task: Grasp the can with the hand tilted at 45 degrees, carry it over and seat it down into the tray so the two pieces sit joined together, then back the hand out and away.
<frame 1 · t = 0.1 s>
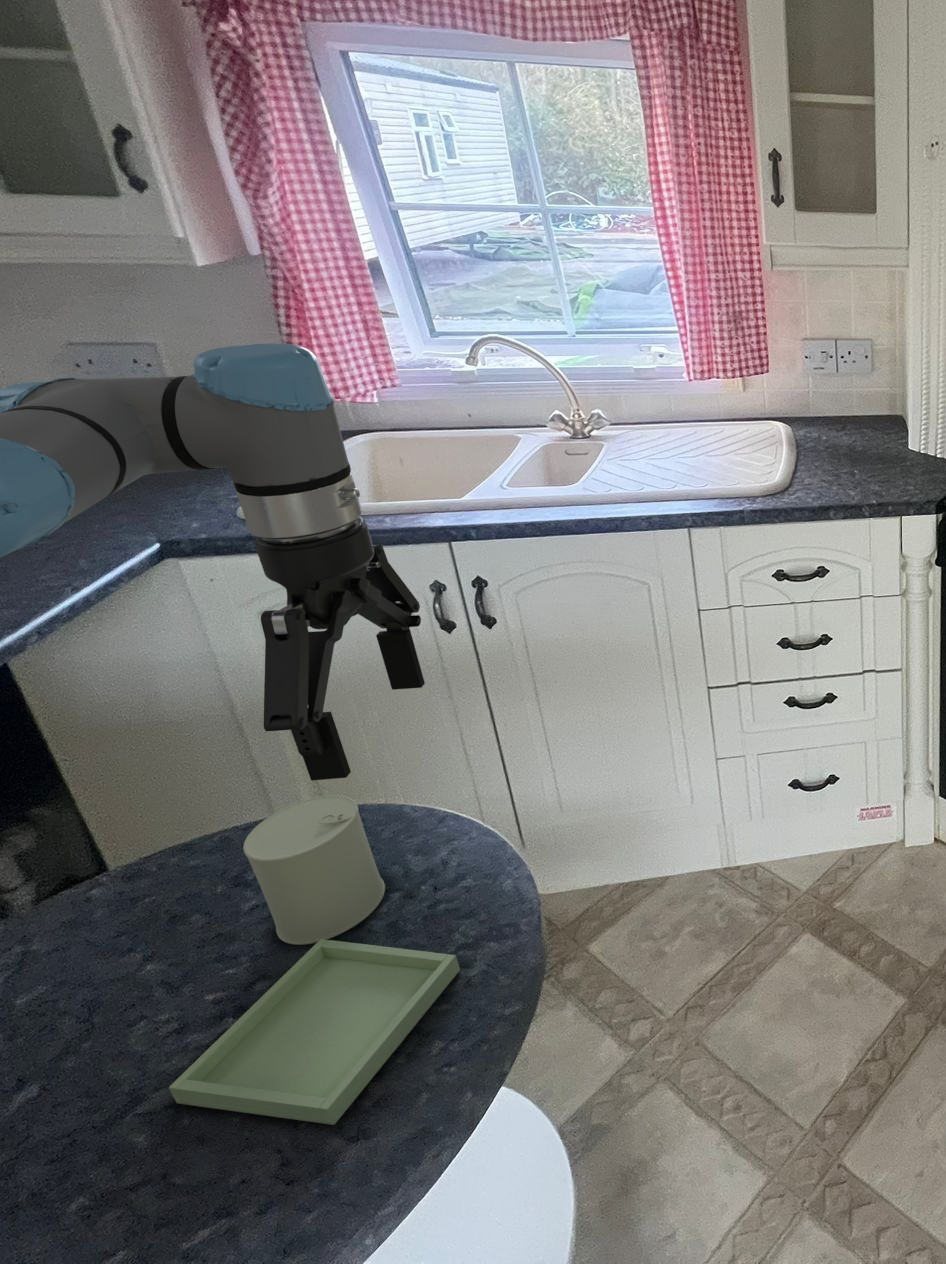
hand: (373, 728, 78), 25 cm above the countertop, tool pointing down, fingers open, 13 cm apart
tray: (330, 1031, 76), on the countertop
can: (333, 909, 89), on the countertop
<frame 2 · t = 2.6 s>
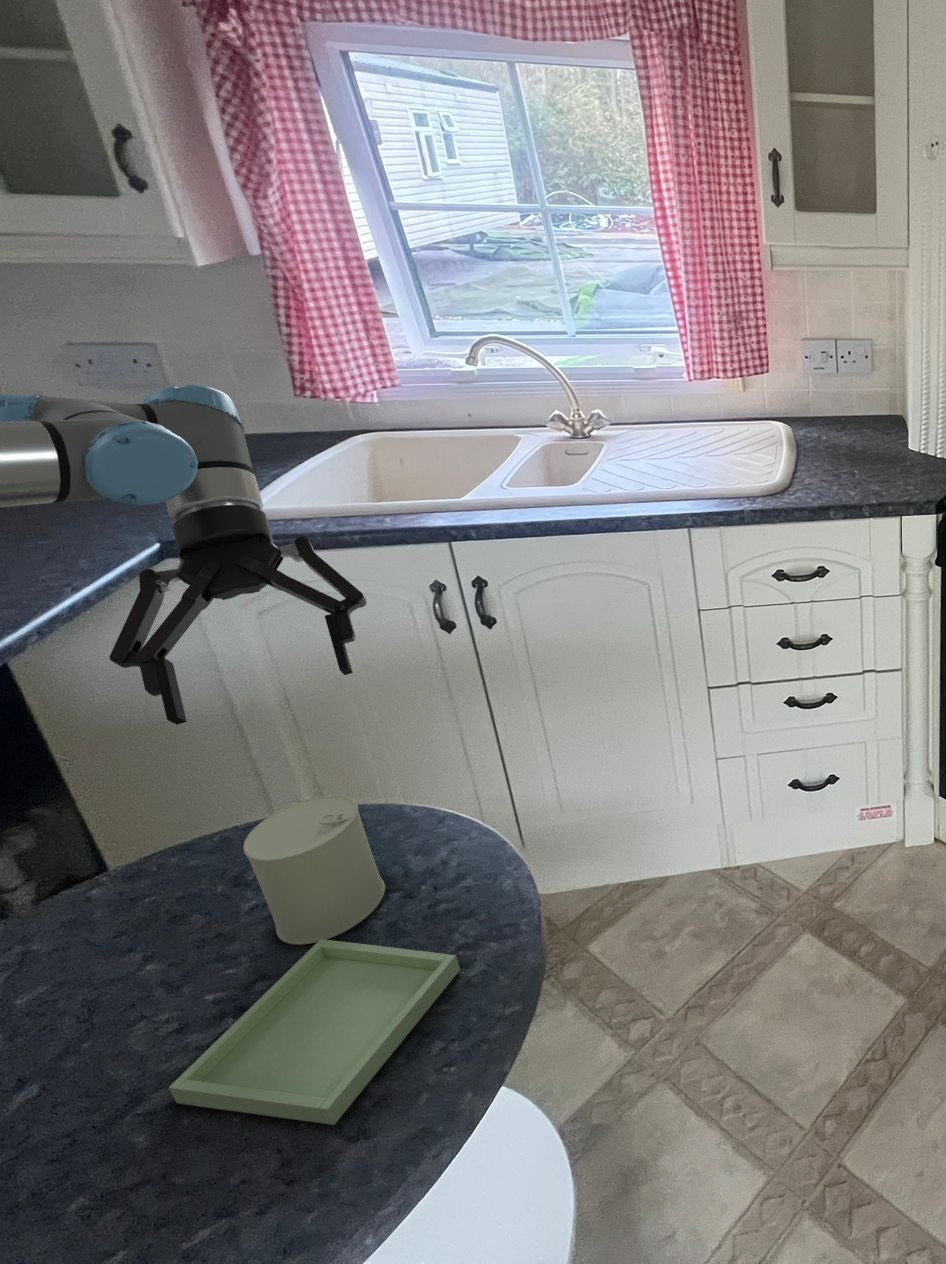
hand: (265, 695, 86), 23 cm above the countertop, tool tilted 45°, fingers open, 13 cm apart
nothing on the countertop moved.
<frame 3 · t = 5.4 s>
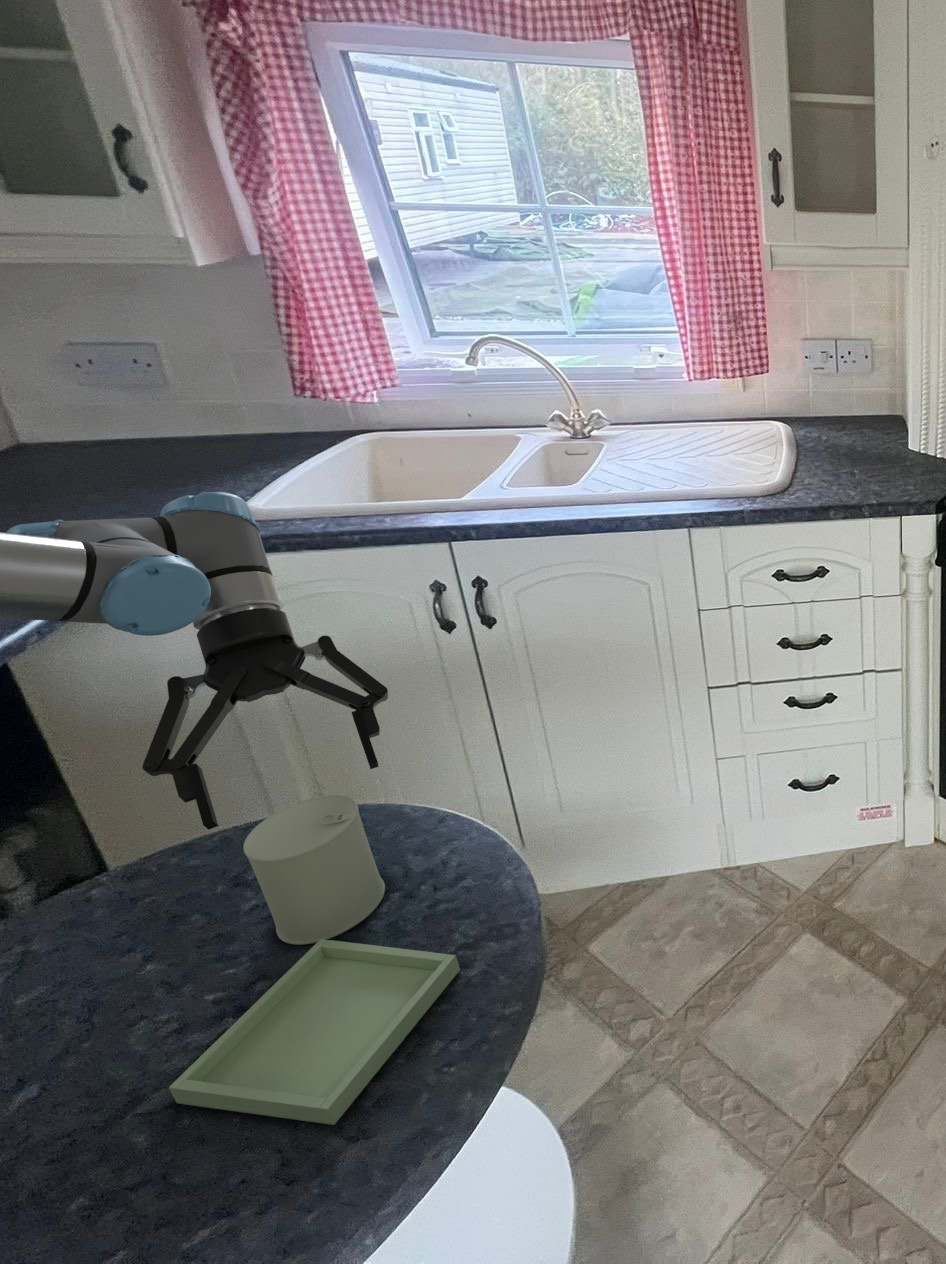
hand: (296, 794, 89), 11 cm above the countertop, tool tilted 45°, fingers open, 13 cm apart
nothing on the countertop moved.
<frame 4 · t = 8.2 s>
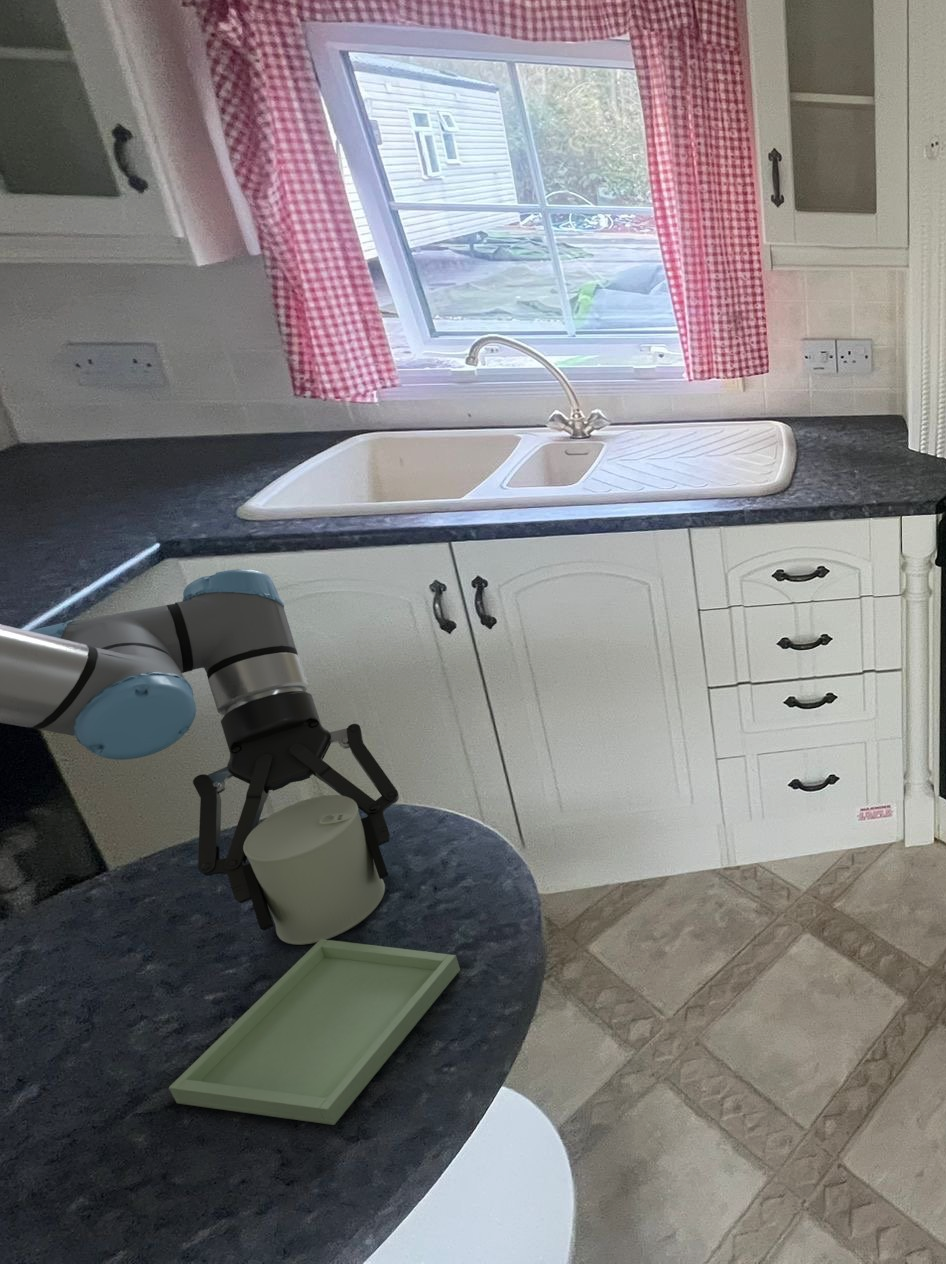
hand: (327, 900, 85), 4 cm above the countertop, tool tilted 45°, fingers closed on can, 9 cm apart
can: (333, 909, 89), on the countertop, touching gripper
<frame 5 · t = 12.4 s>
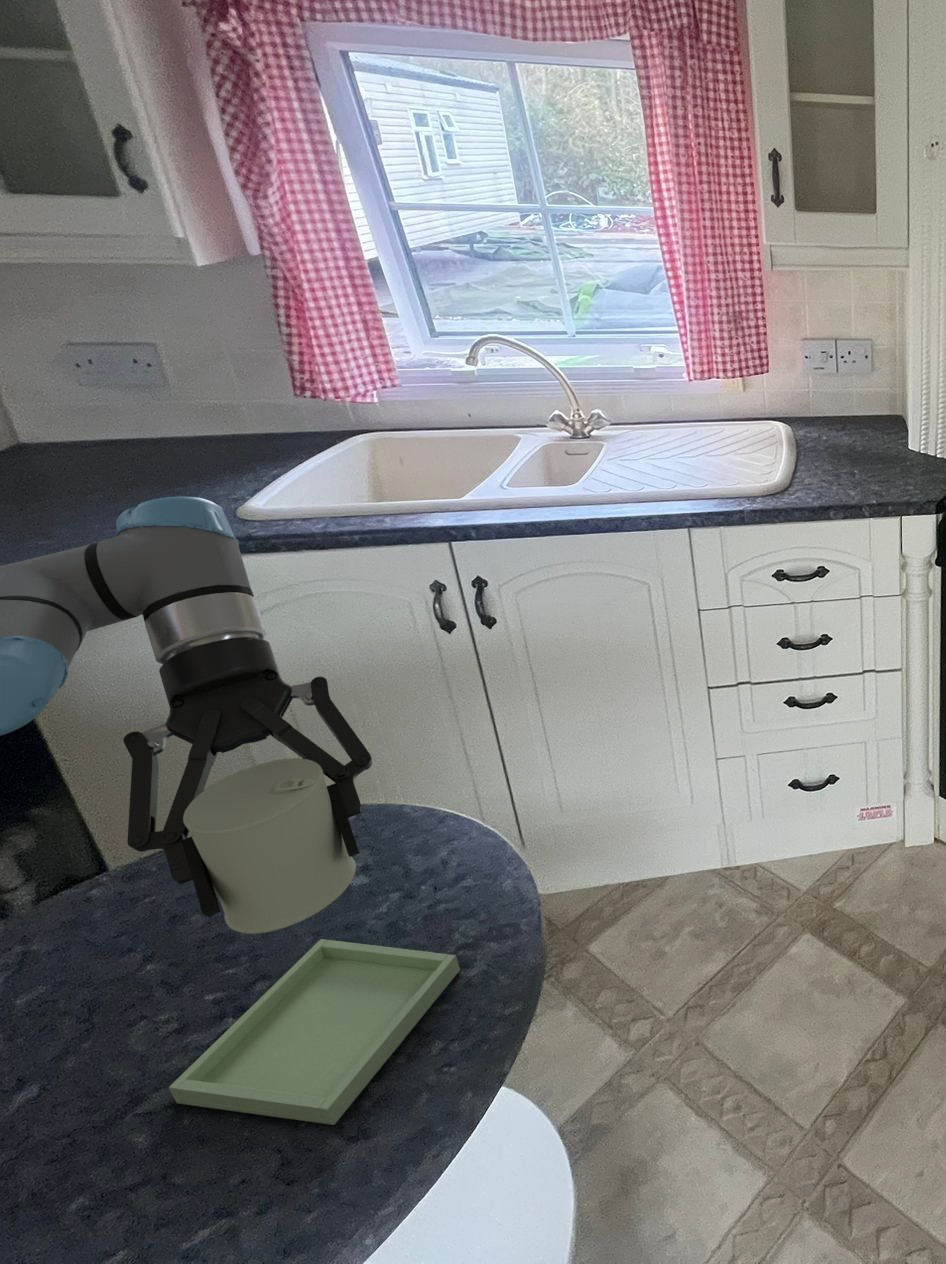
hand: (285, 881, 72), 17 cm above the countertop, tool tilted 45°, fingers closed on can, 9 cm apart
can: (293, 892, 76), point 13 cm above the countertop, touching gripper
when the fingers open (4 cm above the countertop, at t = 16.9 s): can stays where it is, resting on tray.
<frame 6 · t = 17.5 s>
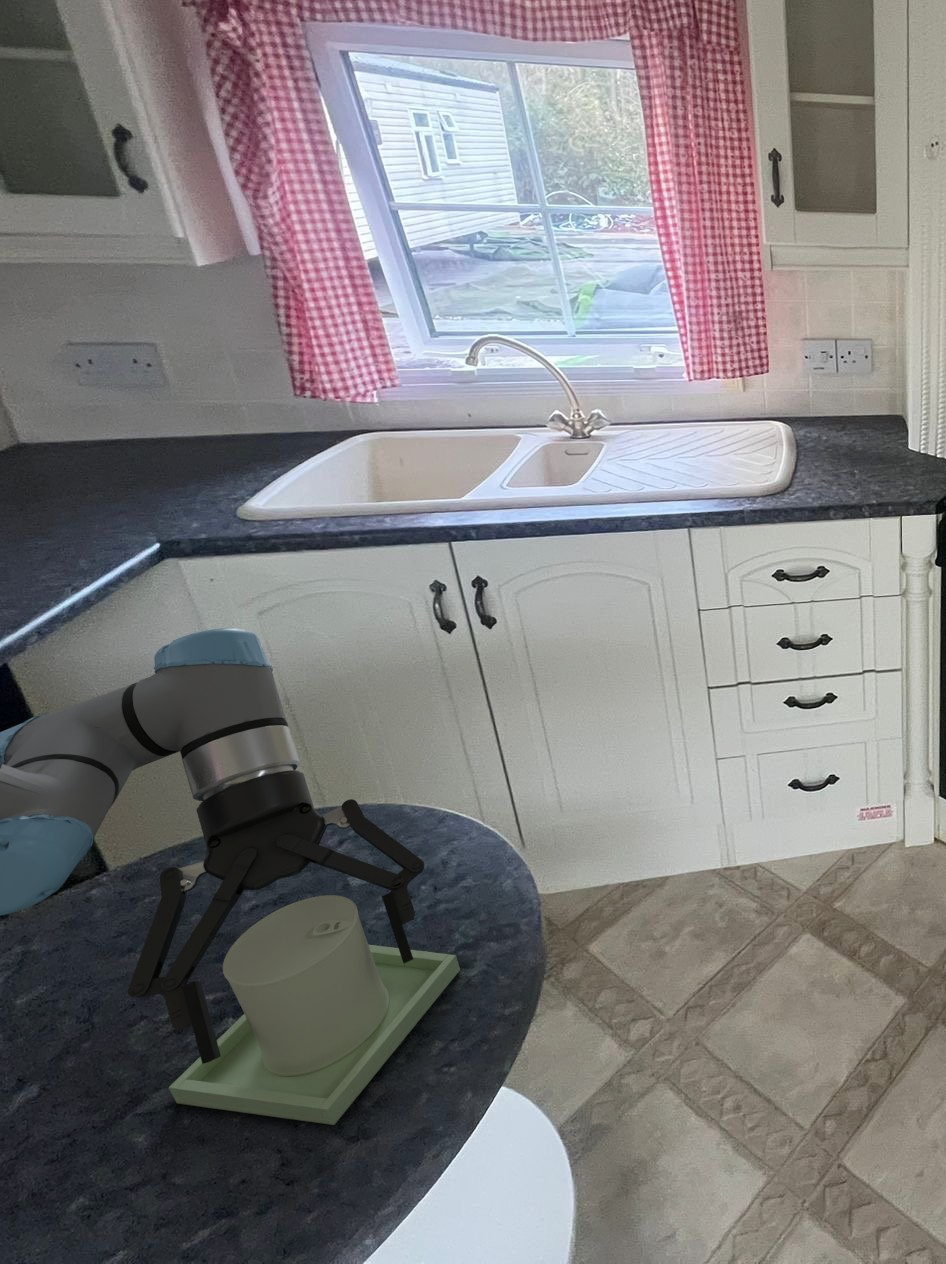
hand: (316, 1008, 73), 6 cm above the countertop, tool tilted 45°, fingers open, 13 cm apart
can: (329, 1027, 76), resting on tray
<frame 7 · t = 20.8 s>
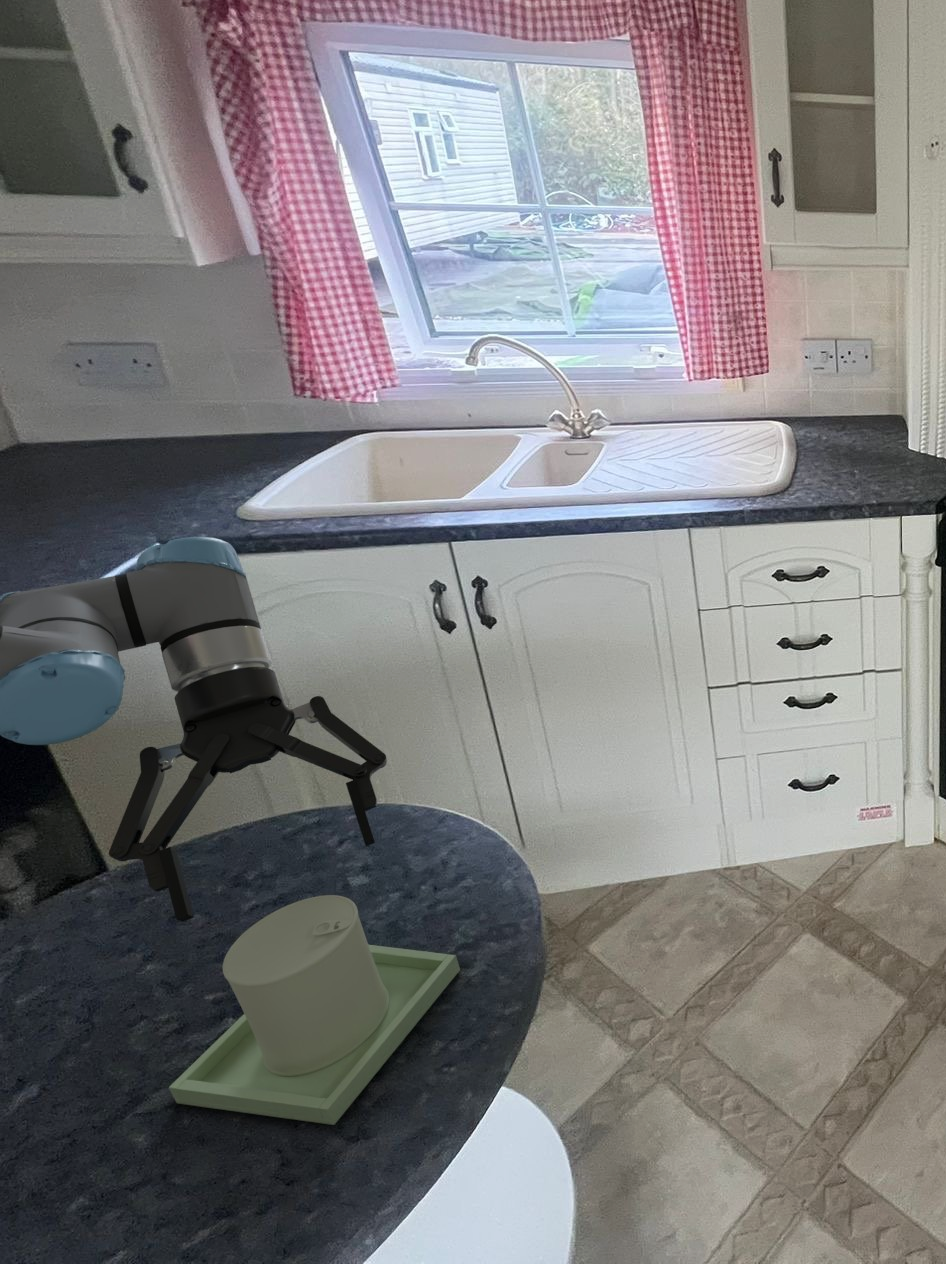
hand: (283, 878, 79), 11 cm above the countertop, tool tilted 45°, fingers open, 13 cm apart
nothing on the countertop moved.
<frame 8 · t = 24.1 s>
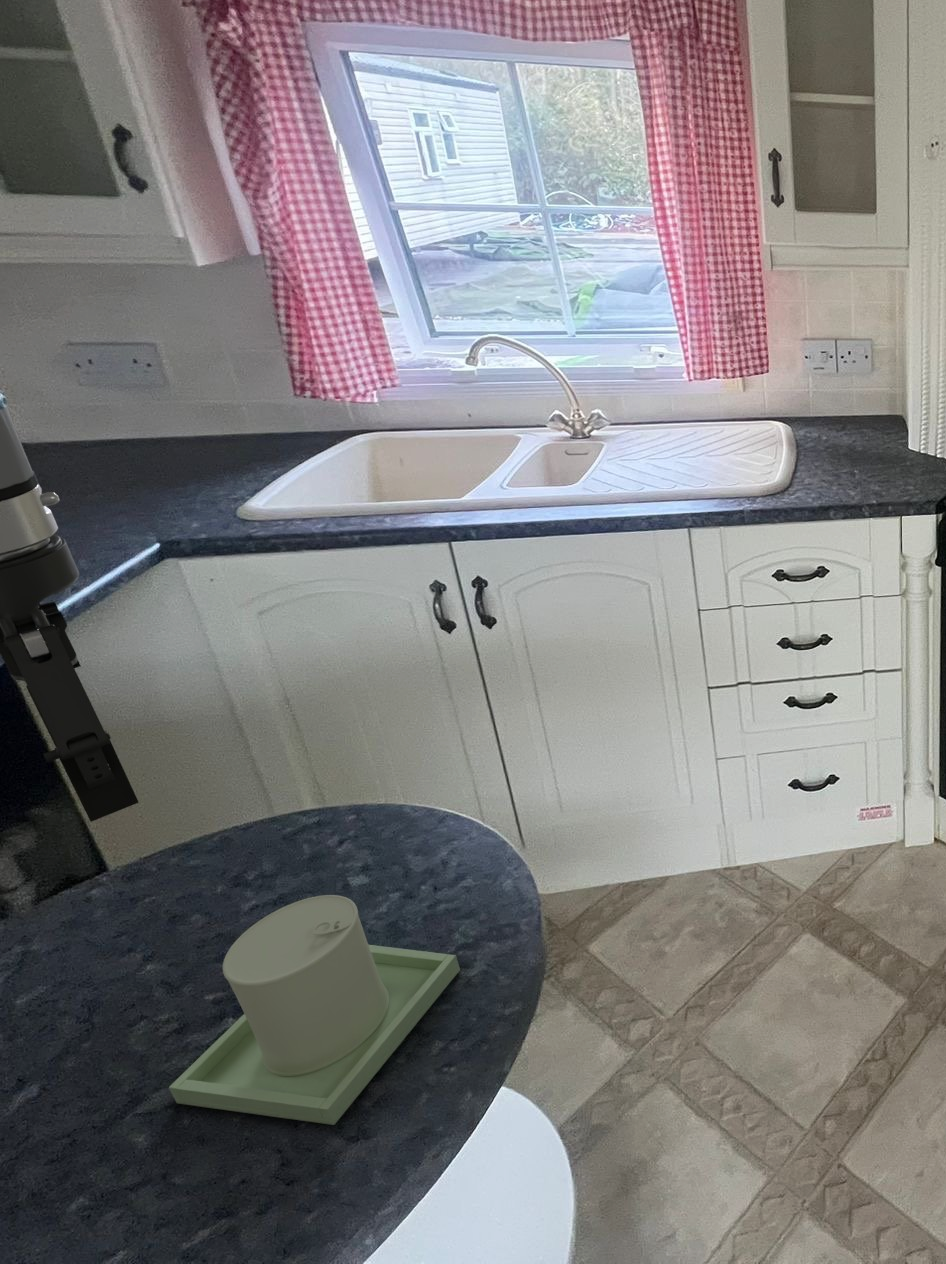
hand: (96, 774, 69), 27 cm above the countertop, tool pointing down, fingers open, 13 cm apart
nothing on the countertop moved.
at the end: can 0.0 cm off-centre in the tray, point 0.4 cm above the tray's base; can tilted 0°; the gripper is holding nothing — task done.
